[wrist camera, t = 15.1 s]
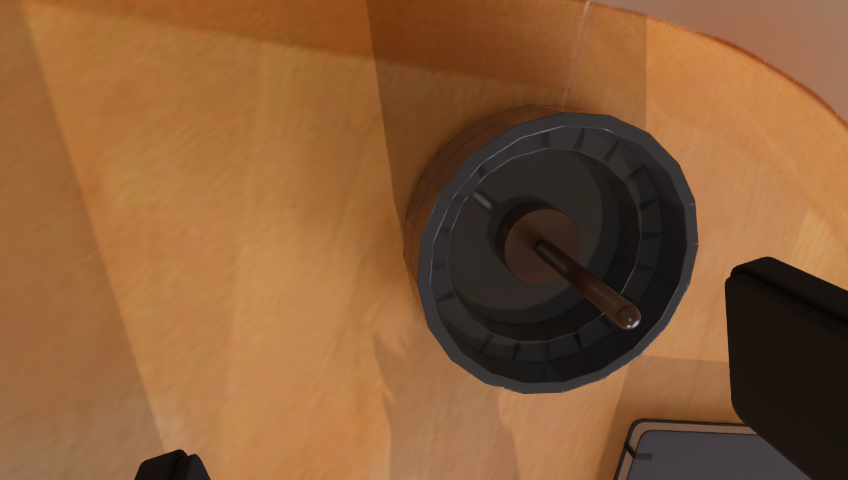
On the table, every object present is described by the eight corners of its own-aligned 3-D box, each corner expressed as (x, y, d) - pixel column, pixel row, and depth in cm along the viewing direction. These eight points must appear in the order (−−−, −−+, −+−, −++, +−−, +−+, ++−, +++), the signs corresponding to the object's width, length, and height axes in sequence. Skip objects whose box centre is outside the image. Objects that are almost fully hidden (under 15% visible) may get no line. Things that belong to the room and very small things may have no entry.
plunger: (488, 213, 38) (574, 288, 26) (561, 192, 38) (680, 255, 26) (502, 283, 40) (589, 385, 27) (572, 262, 40) (688, 352, 28)
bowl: (372, 144, 36) (384, 160, 30) (630, 75, 38) (686, 78, 32) (435, 378, 42) (454, 428, 36) (655, 309, 44) (706, 346, 38)
